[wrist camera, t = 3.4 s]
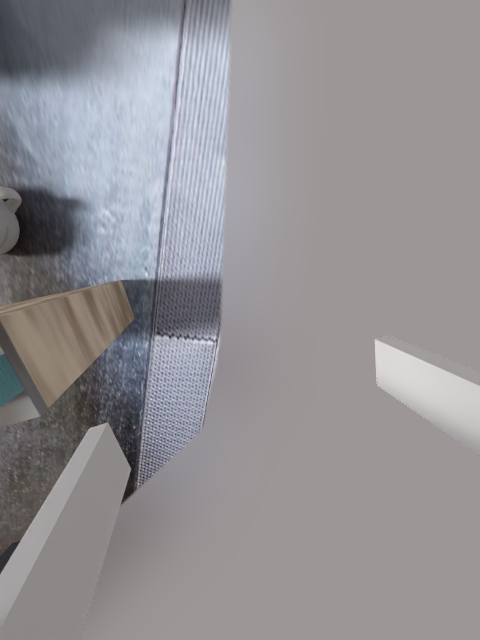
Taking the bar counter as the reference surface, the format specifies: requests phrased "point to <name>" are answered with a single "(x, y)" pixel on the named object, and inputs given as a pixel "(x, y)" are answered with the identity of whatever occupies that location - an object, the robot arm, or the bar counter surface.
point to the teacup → (8, 219)
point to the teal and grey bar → (8, 381)
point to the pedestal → (58, 342)
